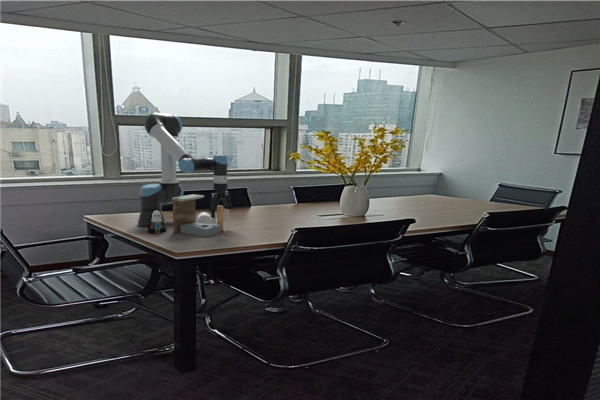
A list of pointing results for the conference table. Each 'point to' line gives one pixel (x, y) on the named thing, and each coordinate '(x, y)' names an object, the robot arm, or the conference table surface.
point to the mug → (204, 218)
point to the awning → (184, 210)
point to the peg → (220, 216)
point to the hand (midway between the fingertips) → (220, 221)
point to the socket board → (200, 229)
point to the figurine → (156, 224)
